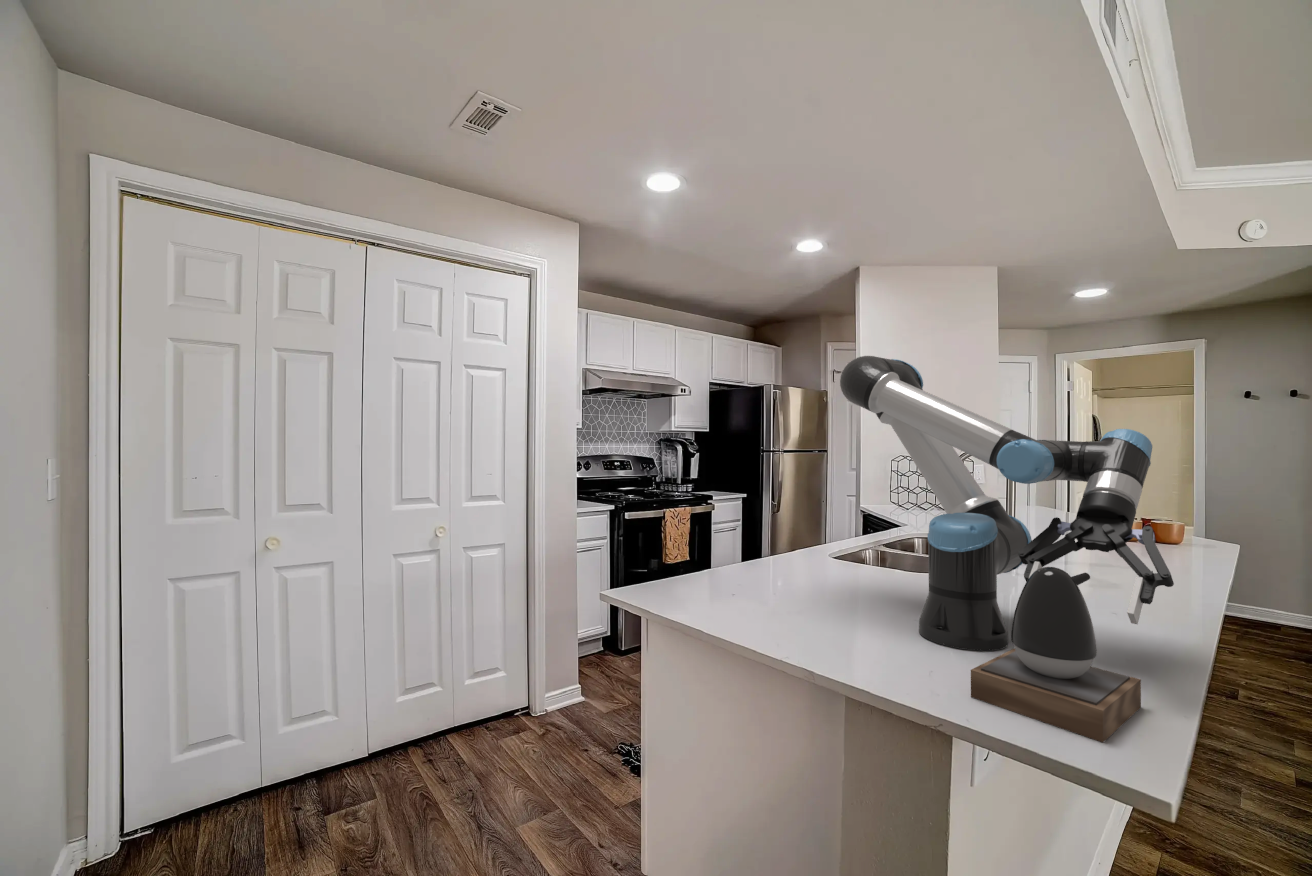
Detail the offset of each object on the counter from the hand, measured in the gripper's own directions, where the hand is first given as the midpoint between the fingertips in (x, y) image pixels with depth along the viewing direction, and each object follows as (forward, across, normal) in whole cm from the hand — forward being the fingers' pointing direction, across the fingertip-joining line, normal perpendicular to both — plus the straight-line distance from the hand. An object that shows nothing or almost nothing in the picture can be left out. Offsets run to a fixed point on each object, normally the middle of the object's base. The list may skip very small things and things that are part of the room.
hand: (1077, 607), depth 89 cm
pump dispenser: (+12, 0, +2) cm, 12 cm away
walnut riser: (+15, 0, -1) cm, 15 cm away
